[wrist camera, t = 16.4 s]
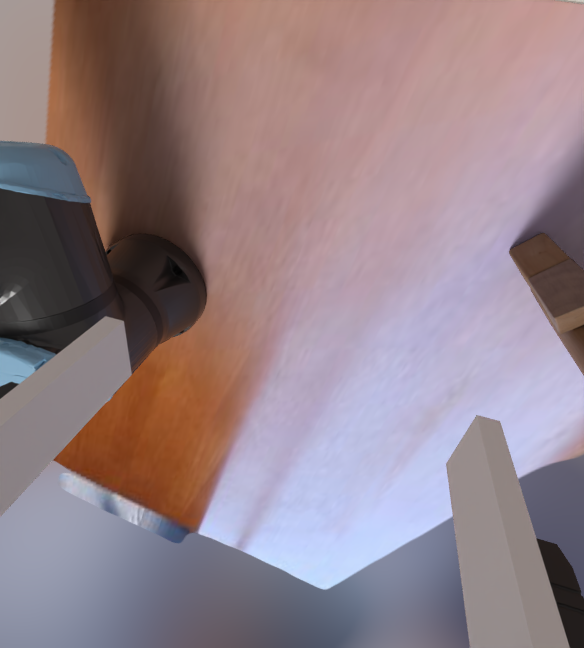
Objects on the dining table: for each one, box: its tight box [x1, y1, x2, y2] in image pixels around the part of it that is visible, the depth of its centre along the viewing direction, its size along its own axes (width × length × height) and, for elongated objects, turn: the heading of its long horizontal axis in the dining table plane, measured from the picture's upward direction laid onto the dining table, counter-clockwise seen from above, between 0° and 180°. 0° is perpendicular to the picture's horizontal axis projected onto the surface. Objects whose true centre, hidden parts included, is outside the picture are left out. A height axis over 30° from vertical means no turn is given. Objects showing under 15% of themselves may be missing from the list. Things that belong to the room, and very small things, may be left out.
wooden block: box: [509, 233, 584, 375], centre depth 32 cm, size 4×11×18 cm, turn 40°
